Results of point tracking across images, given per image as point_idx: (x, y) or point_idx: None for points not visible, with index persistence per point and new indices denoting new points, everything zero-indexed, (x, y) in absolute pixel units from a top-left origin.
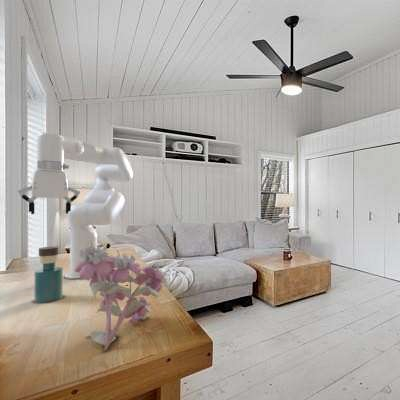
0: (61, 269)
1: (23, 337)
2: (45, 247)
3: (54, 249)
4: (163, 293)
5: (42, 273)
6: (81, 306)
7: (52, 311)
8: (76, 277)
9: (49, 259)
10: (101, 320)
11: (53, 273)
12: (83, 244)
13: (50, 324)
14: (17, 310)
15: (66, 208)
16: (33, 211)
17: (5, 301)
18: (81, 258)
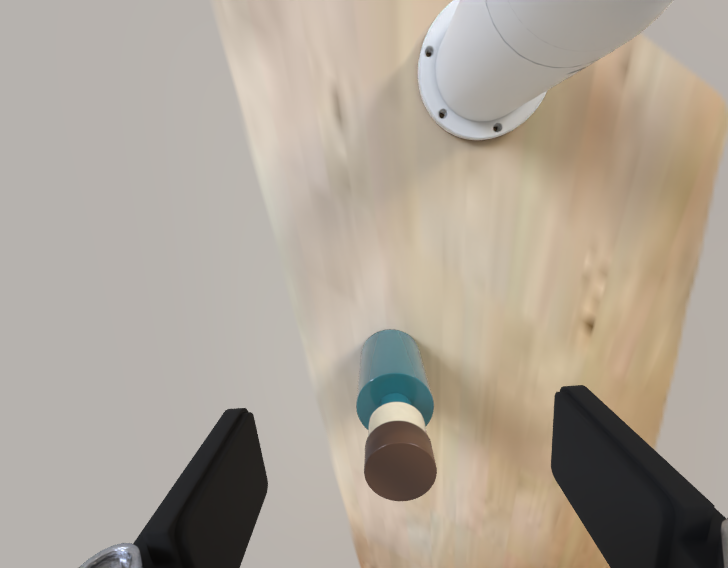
0: (430, 418)
1: (377, 550)
2: (385, 459)
3: (420, 490)
4: None
5: None
6: (460, 452)
7: None
8: (457, 136)
9: None
10: (488, 544)
11: None
12: (549, 76)
13: (409, 519)
14: (339, 410)
15: (591, 527)
16: (256, 510)
17: (296, 321)
18: (502, 102)
